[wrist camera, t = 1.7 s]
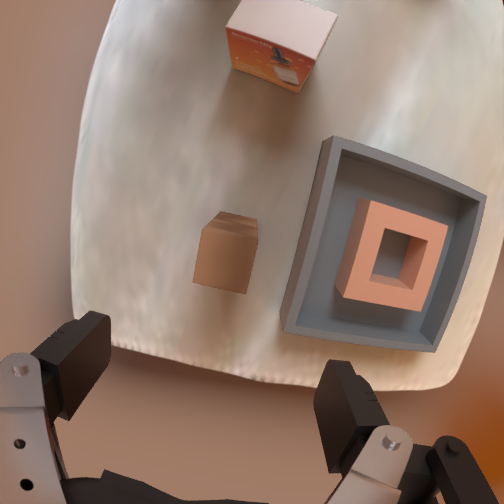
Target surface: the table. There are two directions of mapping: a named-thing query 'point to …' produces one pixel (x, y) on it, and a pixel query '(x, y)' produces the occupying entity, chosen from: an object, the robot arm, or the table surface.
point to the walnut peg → (227, 252)
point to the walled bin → (380, 250)
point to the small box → (278, 39)
